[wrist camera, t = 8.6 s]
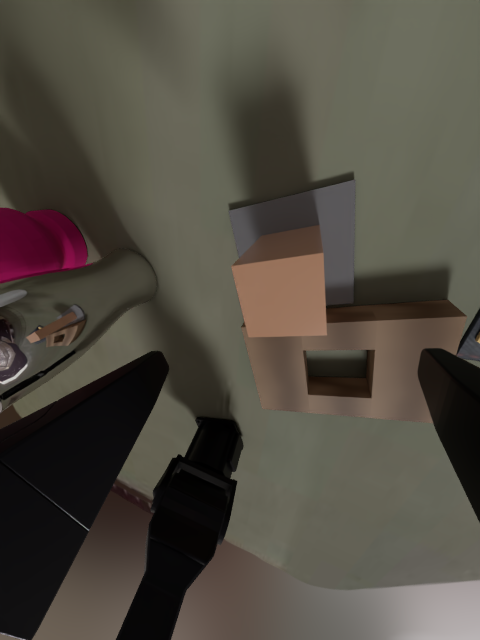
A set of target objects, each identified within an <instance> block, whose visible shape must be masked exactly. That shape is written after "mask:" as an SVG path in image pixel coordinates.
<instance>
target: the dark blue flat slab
mask: <svg viewBox="0 0 480 640" xmlns="http://www.w3.org/2000/svg"><path fill="white" fill-rule="evenodd" d="M456 356H458V357H460V358H462V359H468V360H476V361H480V309H479V311H478V313H477V314H476V316H475V318H474V319H473V321H472V323H471V325H470V326H469V328H468V330H467V331H466V333H465V335H464V336H463V338H462V340H461V341H460V343H459V346H458V350H457V354H456Z"/></svg>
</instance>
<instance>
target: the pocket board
mask: <svg viewBox="0 0 480 640" xmlns="http://www.w3.org/2000/svg"><path fill="white" fill-rule="evenodd" d="M466 318H467V316H466V315H465V314H464V313H463V312H461V311H460V310H459V309H458V308H457V307H456V306H454V305H453V304H452V303H451V302H450V301H449V300H435V301H421V302H407V303H393V304H379V305H364V306H350V307H336V308H326V325H327V335H323V336H284V337H248V334H247V329H246V325H245V321H244V323H243V325H242V327H241V328H242V332H243V335H244V339H245V343H246V347H247V351H248V355H249V359H250V363H251V366H252V370H253V374H254V378H255V382H256V386H257V390H258V393H259V397H260V401H261V405H262V409H270V410H282V411H294V412H306V413H318V414H330V415H342V416H354V417H366V418H378V419H389V420H401V421H413V422H425V423H433V421H432V418H431V415H430V412H429V409H428V406H427V403H426V400H425V397H424V394H423V391H422V388H421V385H420V382H419V379H418V374H417V371H418V365H419V360H420V355H421V351H422V350H423V349H425V348H442V349H444V350H446V351H448V352H450V353H452V354H454V355H456V354H457V350H458V346H459V343H460V339H461V336H462V332H463V329H464V325H465V322H466ZM306 350H368V352H367V371H366V378H346V377H312V376H308V367H307V358H306Z"/></svg>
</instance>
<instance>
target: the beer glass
mask: <svg viewBox="0 0 480 640" xmlns="http://www.w3.org/2000/svg"><path fill="white" fill-rule="evenodd" d="M156 292H157V279H156V275H155V273H154V271H153V269H152V267H151V266H150V264H149V263H148V262H147V260H146V259H145V258H143V257H142V256H141V255H140V254H138V253H137V252H135V251H133V250H130V249H124V248H122V249H116V250H114V251H112V252H111V253H109V254H108V255H106V256H105V257H103V258H102V259H100V260H98V261H96V262H93V263H90V264H87V265H83V266H77V267H71V268H64V269H57V270H50V271H44V272H37V273H32V274H27V275H22V276H17V277H12V278H9V279H5V280H2V281H0V413H1V412H2V411H3V410H5V409H6V408H7V407H9V406H10V405H12V404H13V403H15V402H17V401H18V400H20V399H21V398H23V397H24V396H26V395H28V394H29V393H31V392H32V391H34V390H35V389H37V388H38V387H40V386H41V385H43V384H44V383H46V382H48V381H49V380H51V379H52V378H53V377H55V376H56V375H58V374H59V373H60V372H62V371H63V370H65V369H66V368H67V367H69V366H70V365H71V364H73V363H74V362H75V361H76V360H78V359H79V358H80V357H81V356H83V355H84V354H85V353H86V352H87V351H88V350H89V349H90V348H91V347H92V346H93V345H94V344H95V343H96V342H97V341H98V340H99V339H100V338H101V337H102V336H103V335H104V334H105V333H106V332H107V331H108V330H109V329H110V328H111V326H112V325H113V324H114V323H115V322H116V321H117V320H118V319H119V318H120V317H121V316H122V315H123V314H125V313H126V312H127V311H129V310H130V309H132V308H134V307H136V306H139V305H141V304H144V303H146V302H148V301H150V300H151V299H152V298H153V297H154V296H155V294H156Z"/></svg>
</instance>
